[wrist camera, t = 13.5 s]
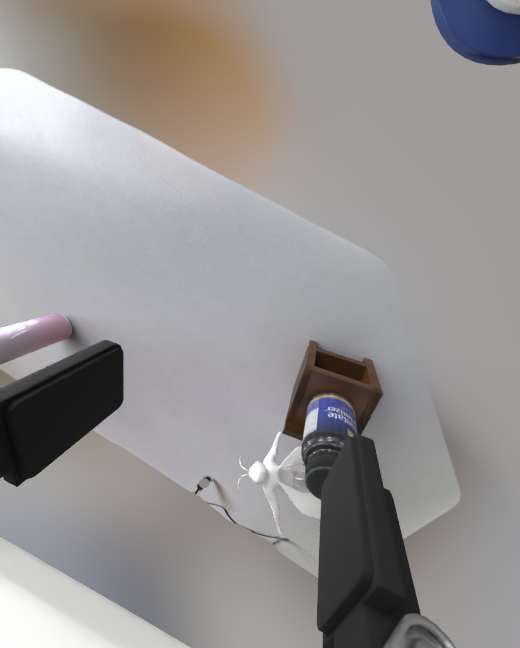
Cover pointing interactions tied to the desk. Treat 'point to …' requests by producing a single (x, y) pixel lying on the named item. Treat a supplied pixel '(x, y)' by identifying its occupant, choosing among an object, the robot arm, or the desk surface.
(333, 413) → the pill bottle
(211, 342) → the desk surface
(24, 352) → the beverage can
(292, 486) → the figurine
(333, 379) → the shelf
